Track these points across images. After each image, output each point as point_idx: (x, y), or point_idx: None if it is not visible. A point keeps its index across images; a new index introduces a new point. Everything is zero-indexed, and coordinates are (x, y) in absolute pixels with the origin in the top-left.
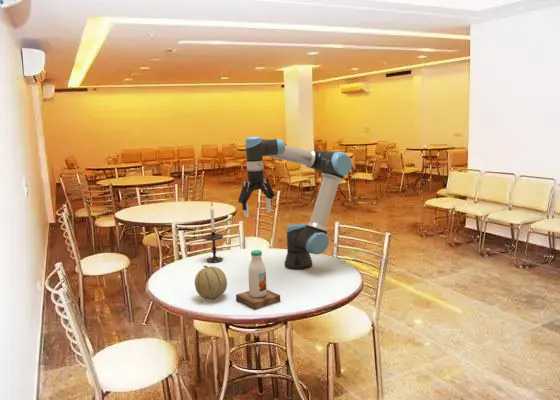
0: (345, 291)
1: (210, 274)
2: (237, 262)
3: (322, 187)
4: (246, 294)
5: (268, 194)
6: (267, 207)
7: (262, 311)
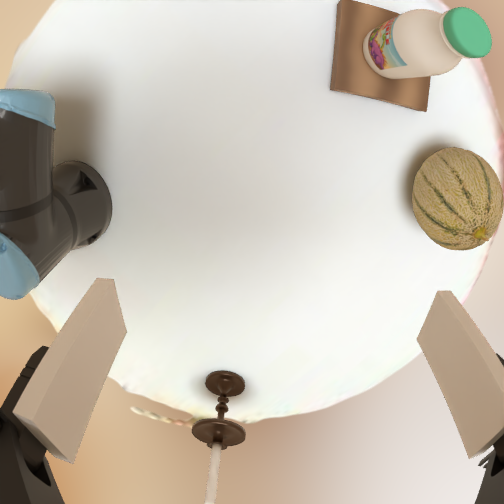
0: None
1: (498, 186)
2: (189, 343)
3: None
4: (408, 84)
5: (13, 494)
6: (103, 350)
7: (415, 8)
